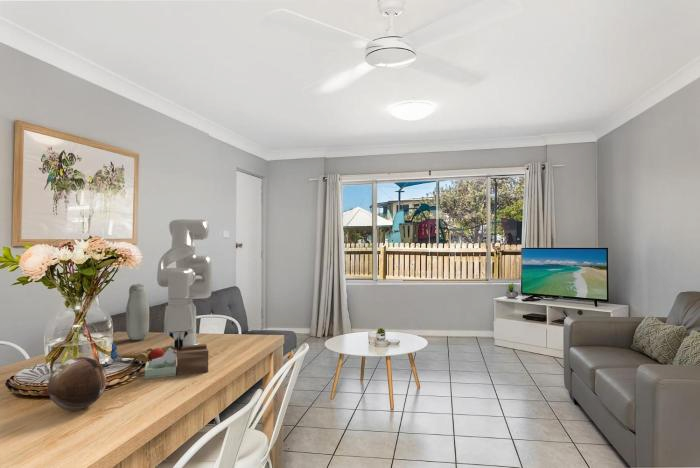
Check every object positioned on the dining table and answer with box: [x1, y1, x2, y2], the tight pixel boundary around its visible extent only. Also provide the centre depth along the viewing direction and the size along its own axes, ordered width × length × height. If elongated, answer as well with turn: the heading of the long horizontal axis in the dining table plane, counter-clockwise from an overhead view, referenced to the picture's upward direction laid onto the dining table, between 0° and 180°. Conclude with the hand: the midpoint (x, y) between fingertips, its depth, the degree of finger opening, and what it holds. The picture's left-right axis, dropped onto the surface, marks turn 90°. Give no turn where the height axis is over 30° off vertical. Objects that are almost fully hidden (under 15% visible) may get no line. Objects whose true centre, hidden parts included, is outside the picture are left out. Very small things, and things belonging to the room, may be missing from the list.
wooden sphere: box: [47, 356, 108, 411], centre depth 133 cm, size 15×15×15 cm
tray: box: [144, 358, 177, 380], centre depth 168 cm, size 12×11×3 cm
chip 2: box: [162, 347, 177, 364], centre depth 169 cm, size 4×4×4 cm
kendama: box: [120, 347, 165, 365], centre depth 182 cm, size 8×6×18 cm
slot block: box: [176, 343, 209, 376], centre depth 173 cm, size 12×11×8 cm
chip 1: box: [152, 357, 165, 369], centre depth 168 cm, size 4×4×4 cm
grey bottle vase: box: [125, 283, 150, 341], centre depth 223 cm, size 10×10×28 cm
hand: (178, 349), depth 171 cm, fingers closed
